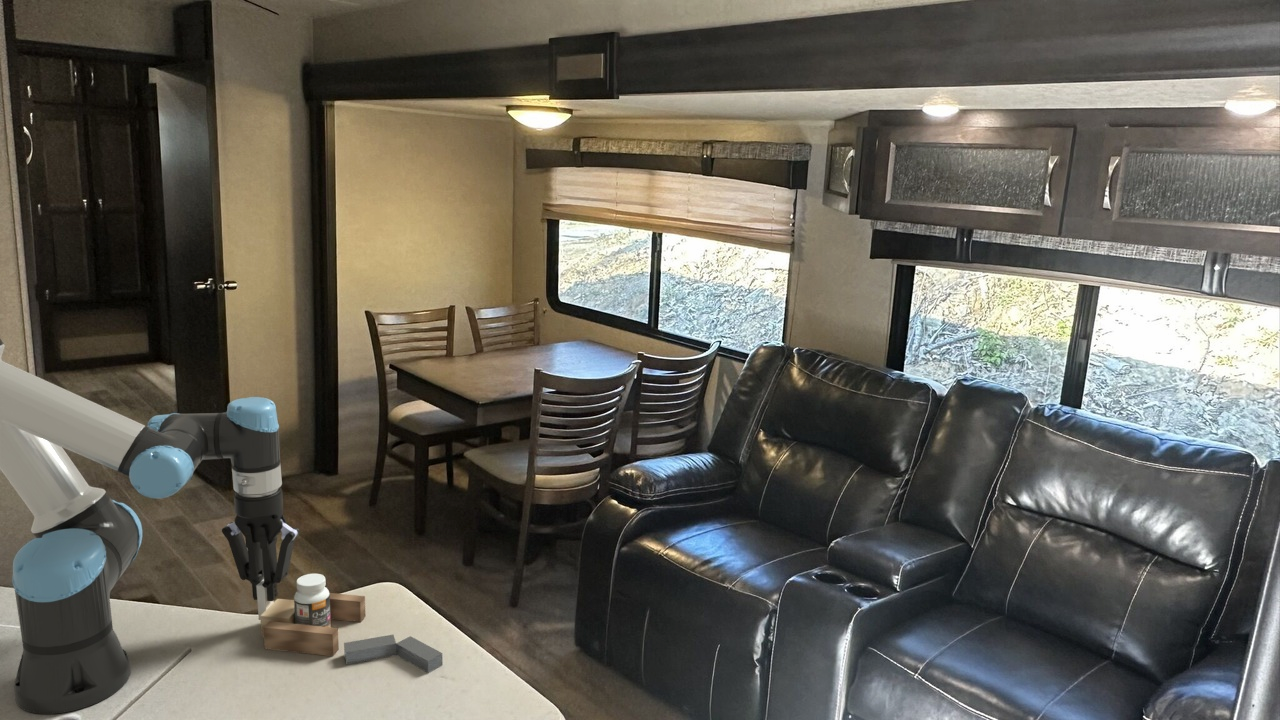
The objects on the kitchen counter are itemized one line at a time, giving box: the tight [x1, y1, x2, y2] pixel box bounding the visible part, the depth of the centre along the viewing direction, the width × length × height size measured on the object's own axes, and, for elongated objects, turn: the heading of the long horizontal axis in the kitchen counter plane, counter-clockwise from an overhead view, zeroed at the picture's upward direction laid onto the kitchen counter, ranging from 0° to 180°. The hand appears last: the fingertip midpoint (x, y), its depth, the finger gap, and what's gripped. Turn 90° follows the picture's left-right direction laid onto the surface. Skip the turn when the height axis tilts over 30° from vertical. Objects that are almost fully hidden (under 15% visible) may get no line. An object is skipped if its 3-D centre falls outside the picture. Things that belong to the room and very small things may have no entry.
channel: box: [263, 592, 366, 657], centre depth 156 cm, size 12×13×4 cm
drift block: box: [259, 598, 295, 638], centre depth 157 cm, size 5×6×4 cm
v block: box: [343, 634, 444, 674], centre depth 150 cm, size 17×7×2 cm, turn 83°
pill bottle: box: [293, 573, 332, 628], centre depth 156 cm, size 6×6×10 cm
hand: (266, 616), depth 158 cm, fingers closed
